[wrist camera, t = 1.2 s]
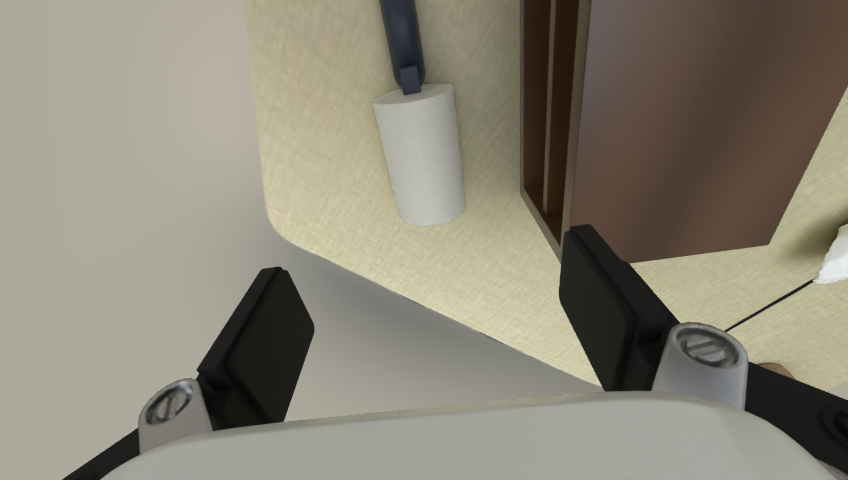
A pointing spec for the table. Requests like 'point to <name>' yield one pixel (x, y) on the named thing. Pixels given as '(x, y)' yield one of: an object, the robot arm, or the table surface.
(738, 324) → the table surface
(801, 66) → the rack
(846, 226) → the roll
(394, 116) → the lint roller
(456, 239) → the table surface
